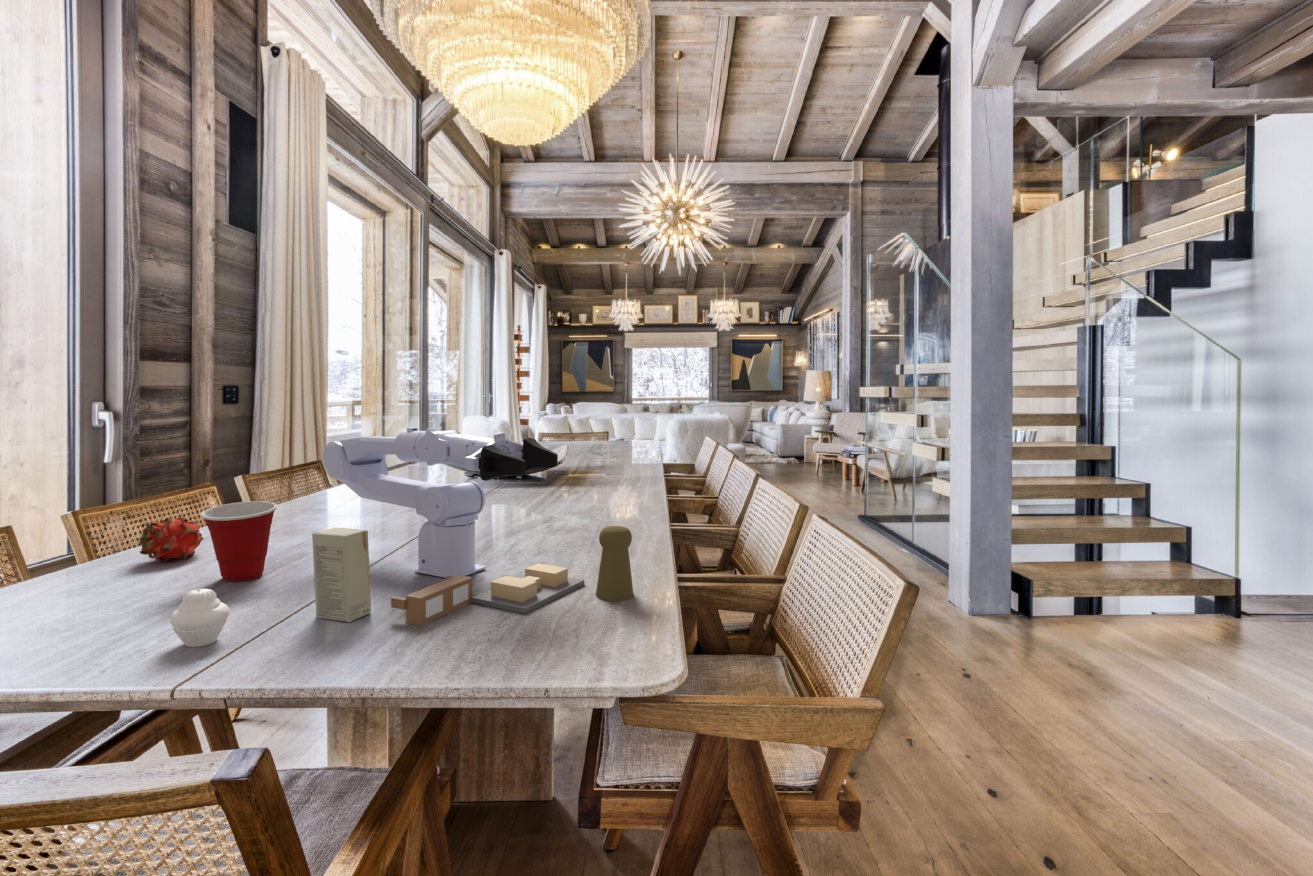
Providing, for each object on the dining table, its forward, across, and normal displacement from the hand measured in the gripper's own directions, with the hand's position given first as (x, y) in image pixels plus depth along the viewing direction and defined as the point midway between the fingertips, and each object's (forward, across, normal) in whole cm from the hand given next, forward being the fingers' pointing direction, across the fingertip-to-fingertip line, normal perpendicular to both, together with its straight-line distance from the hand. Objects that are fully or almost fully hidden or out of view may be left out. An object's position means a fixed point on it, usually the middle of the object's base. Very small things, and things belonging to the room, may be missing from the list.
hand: (540, 463), depth 103 cm
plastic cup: (-45, -23, +22) cm, 55 cm away
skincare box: (-15, -25, +20) cm, 36 cm away
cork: (+12, +4, +21) cm, 24 cm away
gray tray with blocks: (0, -3, +21) cm, 21 cm away
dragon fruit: (-67, -24, +23) cm, 75 cm away
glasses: (-6, -17, +20) cm, 27 cm away
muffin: (-21, -41, +20) cm, 50 cm away
